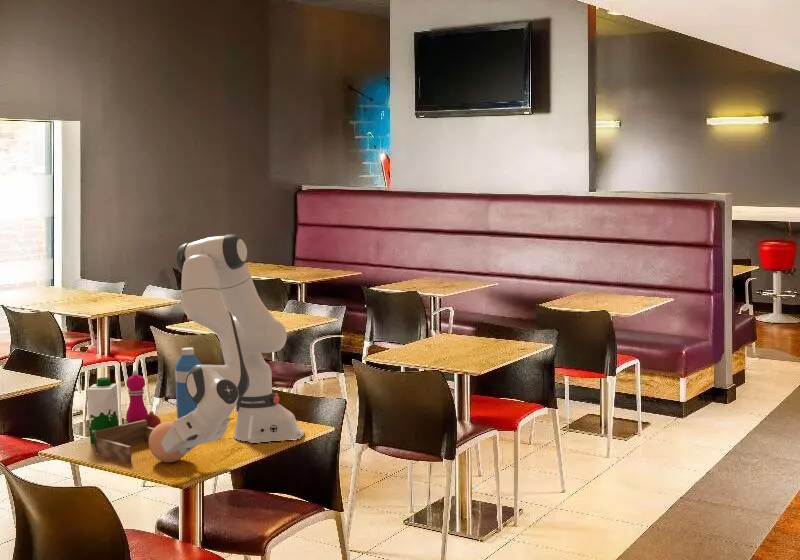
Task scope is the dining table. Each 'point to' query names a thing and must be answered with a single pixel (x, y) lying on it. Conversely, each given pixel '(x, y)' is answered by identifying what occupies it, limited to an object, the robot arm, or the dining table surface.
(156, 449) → the rubber ball
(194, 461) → the dining table surface
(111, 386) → the milk carton
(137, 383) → the pepper mill
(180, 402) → the water bottle
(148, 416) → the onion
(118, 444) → the corral
